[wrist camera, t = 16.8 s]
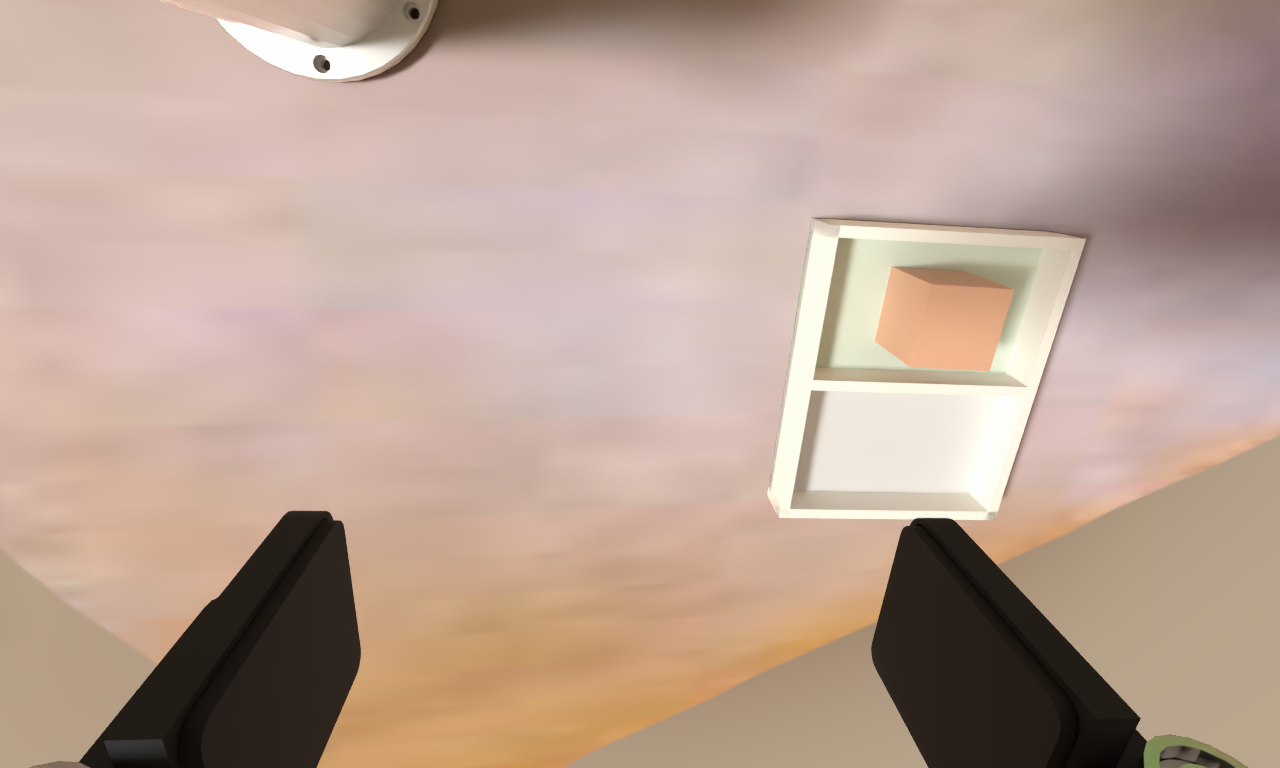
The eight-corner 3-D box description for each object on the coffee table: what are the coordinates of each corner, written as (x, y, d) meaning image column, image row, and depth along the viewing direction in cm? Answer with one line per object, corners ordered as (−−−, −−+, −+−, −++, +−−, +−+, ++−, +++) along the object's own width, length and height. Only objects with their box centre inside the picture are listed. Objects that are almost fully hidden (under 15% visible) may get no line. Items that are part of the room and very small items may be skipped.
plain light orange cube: (891, 266, 39) (931, 284, 35) (965, 271, 40) (1014, 289, 35) (874, 341, 41) (910, 367, 37) (945, 345, 42) (989, 371, 37)
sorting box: (811, 218, 38) (829, 224, 36) (1051, 231, 40) (1086, 239, 37) (767, 494, 46) (778, 517, 43) (971, 497, 47) (994, 520, 45)
